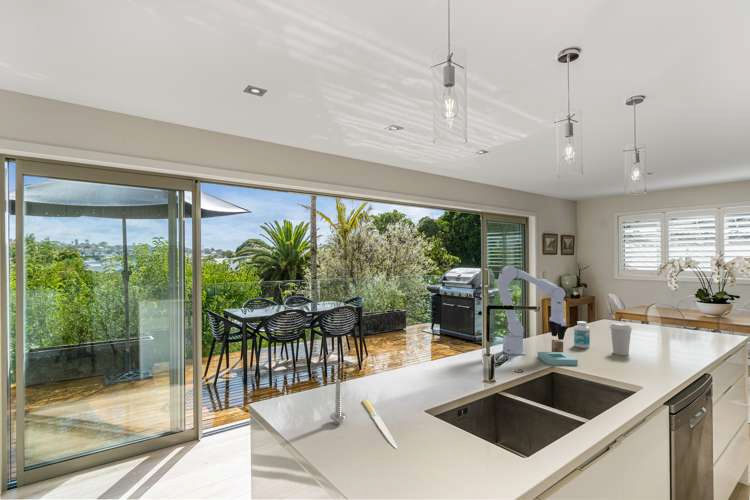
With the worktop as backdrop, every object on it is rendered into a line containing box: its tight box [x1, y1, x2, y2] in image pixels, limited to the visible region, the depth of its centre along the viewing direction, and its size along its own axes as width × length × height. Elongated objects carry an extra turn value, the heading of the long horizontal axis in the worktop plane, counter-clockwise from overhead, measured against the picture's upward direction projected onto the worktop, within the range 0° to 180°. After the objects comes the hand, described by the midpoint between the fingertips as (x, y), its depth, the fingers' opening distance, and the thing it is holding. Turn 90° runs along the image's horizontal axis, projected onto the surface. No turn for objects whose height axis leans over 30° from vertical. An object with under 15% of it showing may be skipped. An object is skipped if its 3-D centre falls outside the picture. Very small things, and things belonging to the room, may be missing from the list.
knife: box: [361, 398, 398, 450], centre depth 115 cm, size 1×33×5 cm
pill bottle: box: [573, 320, 591, 349], centre depth 206 cm, size 8×7×14 cm
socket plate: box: [537, 351, 579, 366], centre depth 178 cm, size 13×13×2 cm
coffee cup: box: [609, 322, 633, 356], centre depth 192 cm, size 10×10×15 cm
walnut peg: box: [551, 339, 564, 352], centre depth 190 cm, size 4×4×7 cm
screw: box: [329, 379, 347, 426], centre depth 113 cm, size 13×5×5 cm
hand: (557, 337), depth 190 cm, fingers open, 7 cm apart
